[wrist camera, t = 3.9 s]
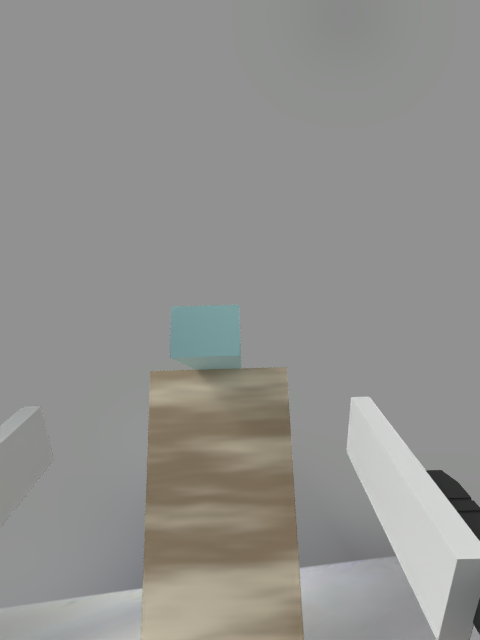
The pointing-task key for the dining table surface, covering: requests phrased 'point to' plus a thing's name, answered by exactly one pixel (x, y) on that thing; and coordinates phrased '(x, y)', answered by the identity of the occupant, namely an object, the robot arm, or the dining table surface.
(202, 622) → the wooden stand
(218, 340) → the teal block
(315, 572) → the dining table surface
